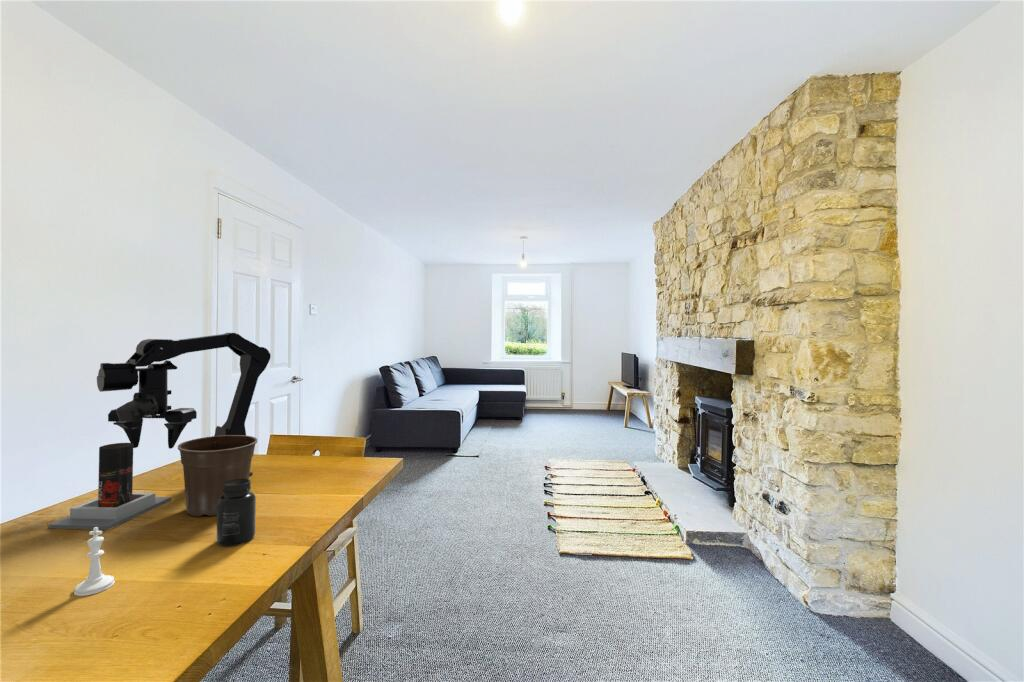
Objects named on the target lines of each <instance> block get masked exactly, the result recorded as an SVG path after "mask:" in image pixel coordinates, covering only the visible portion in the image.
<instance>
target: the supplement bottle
mask: <svg viewBox="0 0 1024 682" xmlns="http://www.w3.org/2000/svg"><path fill="white" fill-rule="evenodd" d="M251 483H252V482H251V480H250V478H249V479H235V480H230V481H227V482H225V483H224V485H223V494H224V495H223V496H222V497H221V498H220V499H219V500H218V502H217V515H216V543H217V544H218V545H220V546H221V547H222V546H223V547H233V546H238V545H242V544H245V543H247V542H250V541H251V540H252V539H254V537H255V535H256V516H257V513H256V510H257V509H256V508H257V502H256V501H257V499H256V498H257V497H256V494H255V493H254V492H252V491H251V489H252V487H251Z"/></svg>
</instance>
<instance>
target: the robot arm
mask: <svg viewBox="0 0 1024 682" xmlns="http://www.w3.org/2000/svg"><path fill="white" fill-rule="evenodd" d="M222 348H229V349H230V350H231V351H232V352H233V353H234V354H235V355H236V356H238V357H239V369H240V376H239V379H238V383H237V386H236V389H235V392H234V396H233V398H232V399H233V400H232V402H231V405H230V408H229V412H228V414H227V419H226V421H225V422H224V423H223V425H222V426H220V425H216V427H215V429H214V430H215V431H214V435H213V436H222V435H246V436H247V431H246V425H245V424H246V420H247V417H248V414H249V410H250V407H251V403H252V400H253V397H254V393H255V390H256V386H257V384H258V380H259V378H260V376H261V374H263V372H264V371H265V370H266V369H267V366H268V365H269V362H270V360H271V357H272V356H271V353H270V351H269V350H268V349H267V348H266V347H263V346H258V345H257V344H256V343H254V342H252V341H250V340H249V339H246V338H244V337H243V336H242V335H240V334H239V333H237V332H225V333H221V334H214V335H206V336H197V337H196V336H195V337H190V338H189V337H188V338H182V339H172V338H171V339H168V338H167V339H164V338H162V339H161V338H146V339H143V340H141V341H140V342H139V343H138V344H137V345H136V348H135V352H134V353H133V354H132V355H131V356H130V358H128V359H127V360H126V361H125V362H123V363H122V362H119V363H111V362H102V363H100V365H99V369H98V373H97V376H96V385H97V389H98V391H99V392H112V391H113V392H114V391H115V392H117V391H127V390H133V388H134V387H136V386H137V385H138V392H134V394H133V397H132V400H131V401H128V402H126V403H124V404H123V405H120V406H119V407H117V408H115V409H111V410H110V411H109V413H108V414H107V421H108V422H109V423H110V422H112V424H113V425H115V426H118V427H120V428H121V429H123V431H124V433H125V434H126V437H127V438H128V441H129V443H133V449H136V448H138V447H139V445H140V440H141V435H142V428H143V422H144V419H164V420H165V421H166V422H165V423H163V425H164V427H166V429H167V445H168V449H169V450H170V449H173V448H174V447H175V445H176V443H177V442H178V439H179V438H180V435H181V433H182V432H183V431H184V429H185V428H186V426H187V424H188V423H192V420H194V419H197V416H198V415H197V410H196V409H195V408H194V407H179V408H175V409H172V405H168V395H172V390H169V389H168V371H171V370H177V369H178V366H177V365H175V364H174V363H173V362H172V361H171V359H174V358H176V357H178V356H181V355H184V354H189V353H195V352H196V353H197V352H199V351H200V352H202V351H207V350H214V349H222ZM159 362H160V363H159ZM161 362H162V363H161ZM253 474H254V472H251V471H250V475H249V477H250V476H252V475H253Z"/></svg>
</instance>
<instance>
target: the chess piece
mask: <svg viewBox="0 0 1024 682" xmlns="http://www.w3.org/2000/svg"><path fill="white" fill-rule="evenodd" d="M102 534H103V530H98V527H95V528H93V529H92V530H91V531H89V533H88V535H90V536H92V535H93V536H92V537H91V538H89V539H88V540H87V542H86V543H87V545H88V548H89V549H90V552H88V553H86V558H91V560H90V565H89V570H88V575H87V577H86V578H85V579H84V580H83V581H80V583H78V584H77V585H76V586H75V587H74V591H73V594H74V595H75V596H76V597H77V596H78V597H84V596H90V595H95V594H98V593H101V592H104V591H105V590H106V591H107V589H110V588H111V587H113V586H114V584H115V577H114V576H113V575H111V574H110V575H109V574H104V573H102V568H101V559H100V556H102V555H103V554H104V553H105V551H104V549H101V548H102V544H103V542H104V540H105V538H104V537H103V536H99V535H102Z"/></svg>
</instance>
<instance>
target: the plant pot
mask: <svg viewBox="0 0 1024 682" xmlns="http://www.w3.org/2000/svg"><path fill="white" fill-rule="evenodd" d="M257 443H258V438H256V437H254V436H250V435H247V434H246V435H222V436H214V435H212V436H205V437H201V438H199V437H198V438H194V439H191V440H186V441H183V442H181V443H179V444H178V445H177V450H178V451H179V455H180V464H181V465H182V469H183V480H184V481H183V483H184V495H185V509H186V513H187V514H188V515H191V516H193V517H202V516H203V515H206V516H208V517H214V516H217V502H218V500H219V499H220V498H221V497H222V496H223V495H224V494H223V485H224V483H225V482H227V481H230V480H235V479H249V480H250V476H251V475H250V472H251V465H252V458H253V457H254V453H255V447H256V444H257ZM249 475H250V476H249Z"/></svg>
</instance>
